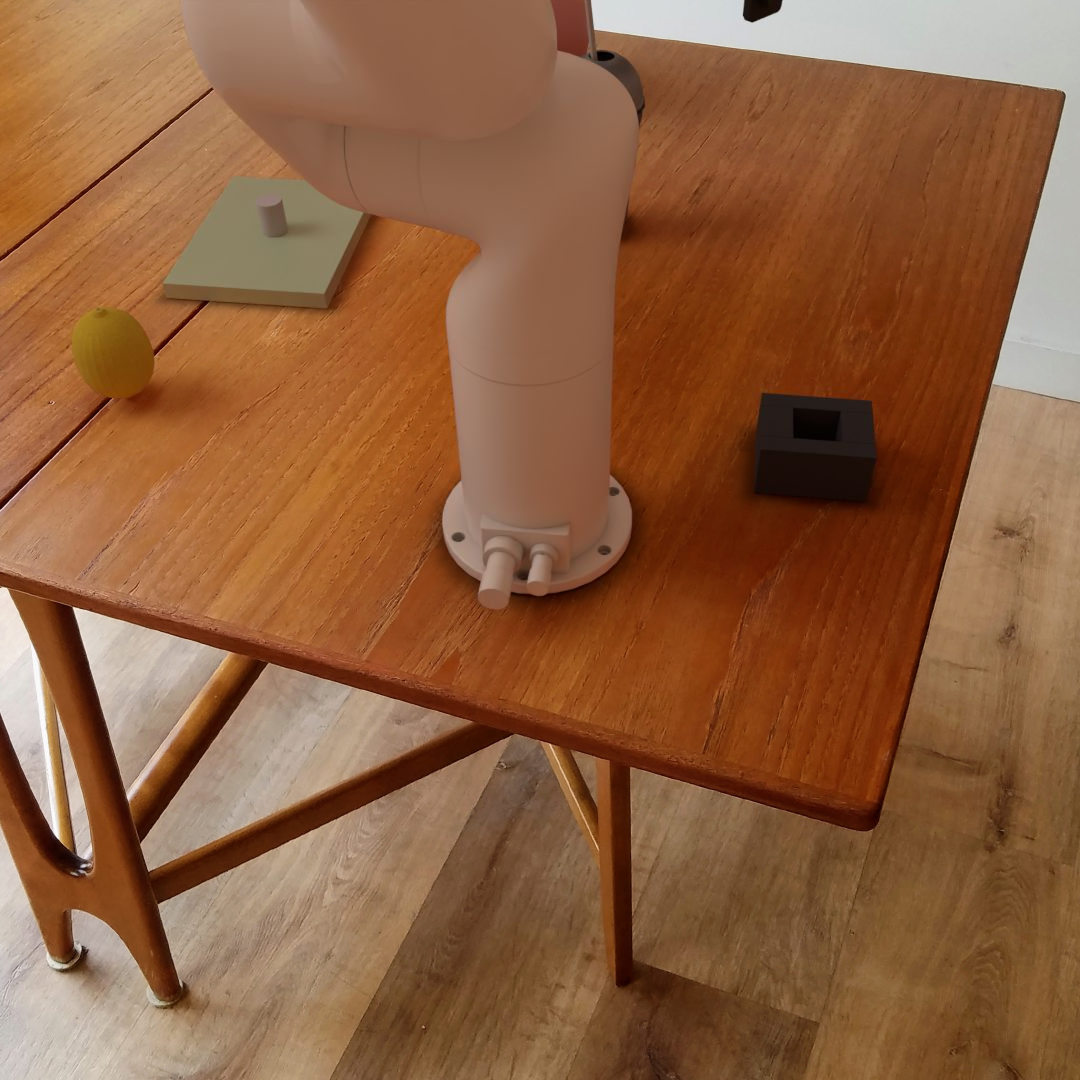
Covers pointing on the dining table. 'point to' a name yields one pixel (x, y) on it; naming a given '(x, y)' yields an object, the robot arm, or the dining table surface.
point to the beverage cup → (615, 70)
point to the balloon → (571, 26)
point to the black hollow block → (814, 447)
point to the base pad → (268, 246)
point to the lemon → (112, 352)
